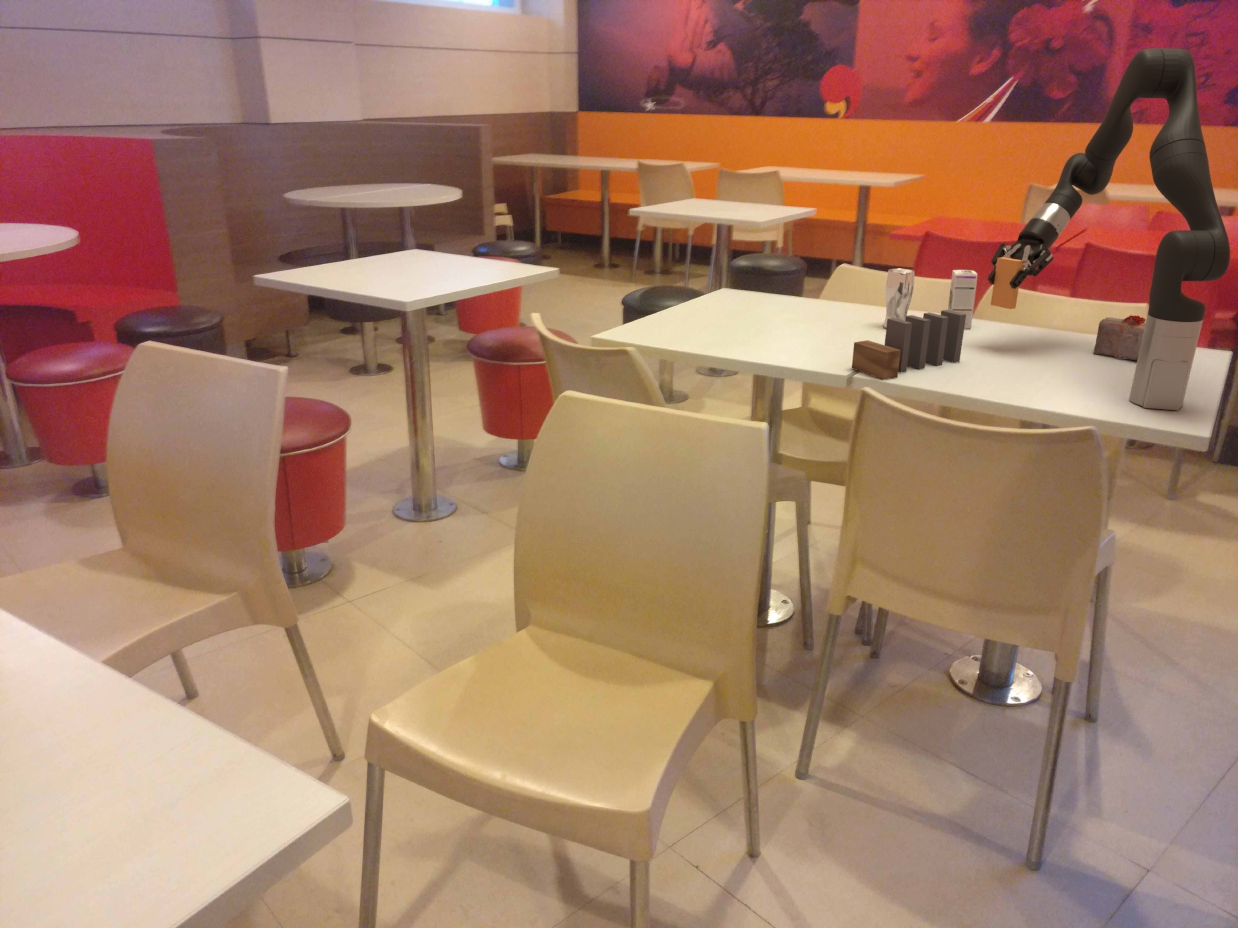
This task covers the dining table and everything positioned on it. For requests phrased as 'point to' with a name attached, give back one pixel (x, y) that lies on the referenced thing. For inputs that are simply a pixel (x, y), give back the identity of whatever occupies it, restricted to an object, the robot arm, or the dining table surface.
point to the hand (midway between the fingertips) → (1001, 284)
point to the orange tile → (1005, 283)
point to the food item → (1120, 337)
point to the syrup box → (963, 294)
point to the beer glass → (898, 293)
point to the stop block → (876, 359)
